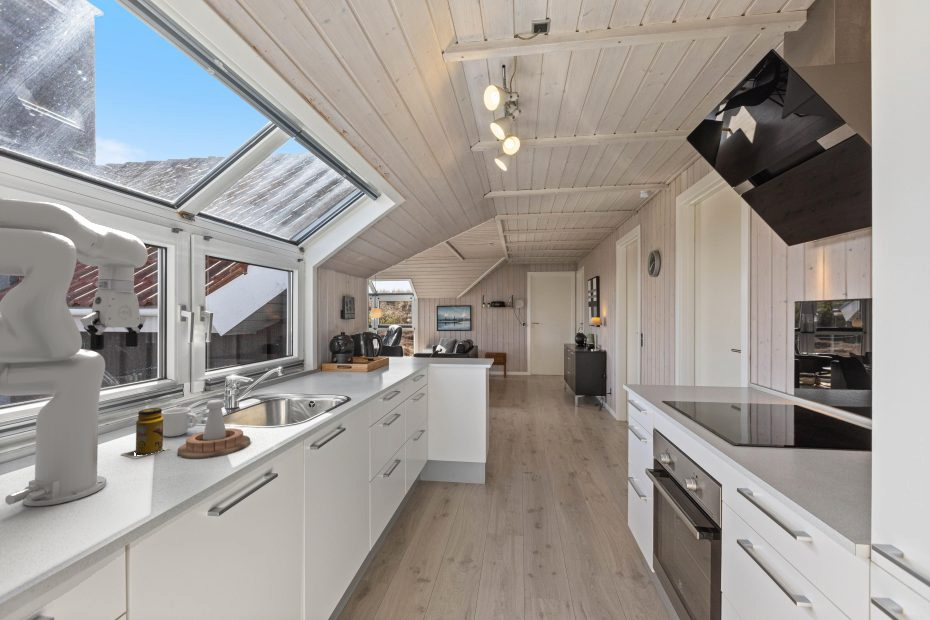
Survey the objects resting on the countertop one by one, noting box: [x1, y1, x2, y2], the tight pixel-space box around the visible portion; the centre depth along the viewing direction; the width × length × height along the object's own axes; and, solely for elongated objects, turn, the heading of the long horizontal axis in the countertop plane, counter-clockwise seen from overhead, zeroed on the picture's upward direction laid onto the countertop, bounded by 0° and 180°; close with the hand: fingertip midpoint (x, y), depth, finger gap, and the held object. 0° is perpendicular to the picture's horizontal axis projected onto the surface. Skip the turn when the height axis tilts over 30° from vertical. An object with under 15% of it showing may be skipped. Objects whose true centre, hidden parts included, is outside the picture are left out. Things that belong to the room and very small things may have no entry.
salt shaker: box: [203, 398, 226, 441], centre depth 113 cm, size 6×6×13 cm
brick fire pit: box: [177, 427, 251, 460], centre depth 113 cm, size 18×18×4 cm
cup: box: [162, 407, 199, 438], centre depth 125 cm, size 11×8×8 cm
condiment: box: [120, 407, 170, 460], centre depth 109 cm, size 7×8×12 cm
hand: (115, 348), depth 107 cm, fingers open, 9 cm apart
